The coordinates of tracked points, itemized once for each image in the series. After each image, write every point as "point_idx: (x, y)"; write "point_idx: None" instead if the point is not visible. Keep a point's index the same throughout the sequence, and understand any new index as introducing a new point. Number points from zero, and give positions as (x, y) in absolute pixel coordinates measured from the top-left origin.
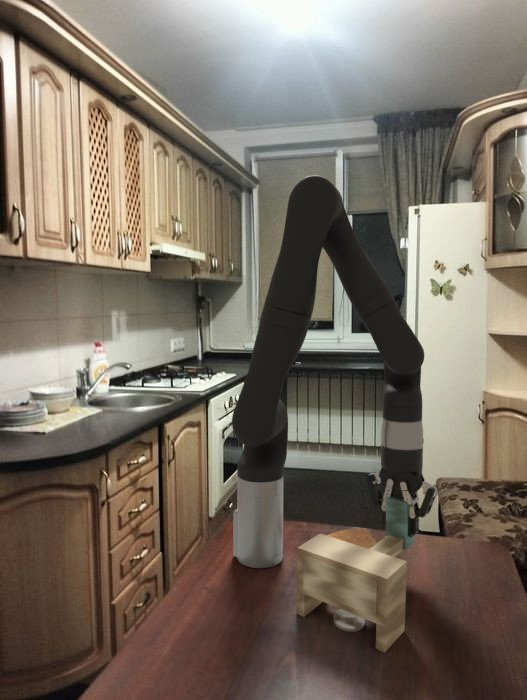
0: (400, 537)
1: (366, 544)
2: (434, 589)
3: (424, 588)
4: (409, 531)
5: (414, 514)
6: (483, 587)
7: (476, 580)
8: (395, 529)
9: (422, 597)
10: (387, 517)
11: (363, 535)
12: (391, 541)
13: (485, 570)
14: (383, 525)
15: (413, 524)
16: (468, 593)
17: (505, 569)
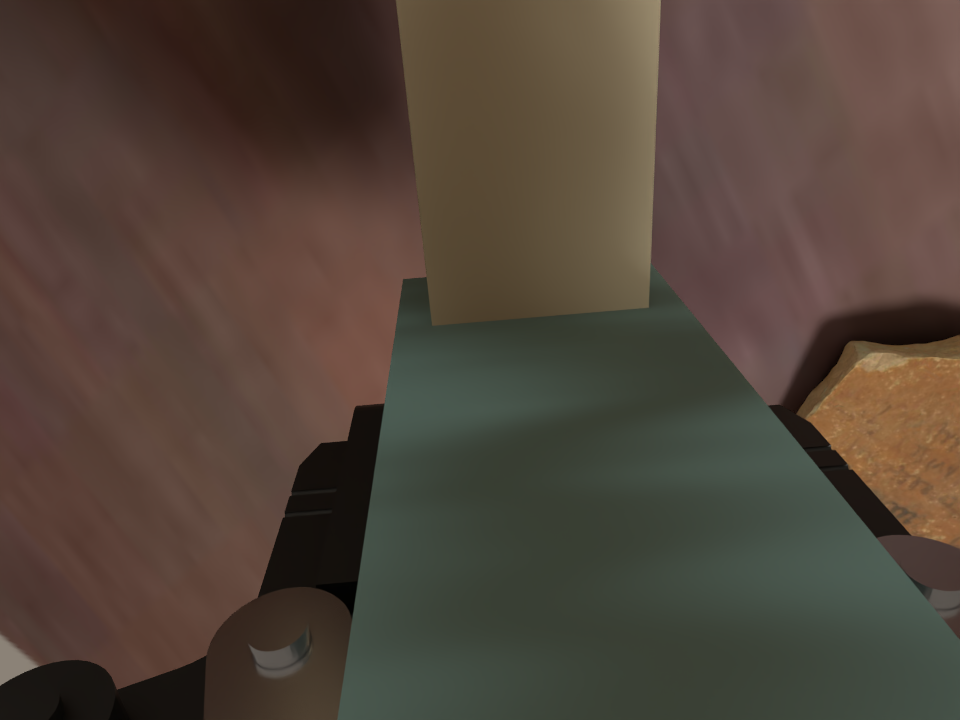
0: (474, 328)
1: (875, 449)
2: (245, 280)
3: (298, 246)
4: (375, 437)
5: (218, 667)
6: (71, 496)
7: (146, 536)
8: (561, 363)
9: (236, 121)
10: (757, 434)
11: (939, 527)
12: (517, 153)
13: (182, 649)
14: (780, 409)
15: (316, 535)
16: (77, 381)
17: None
